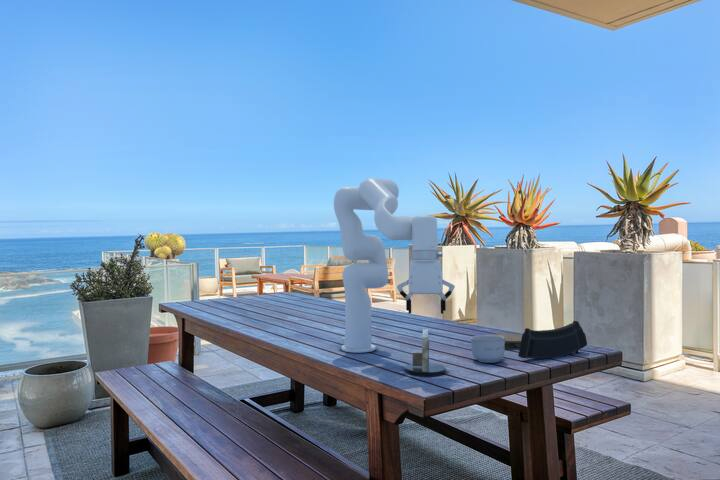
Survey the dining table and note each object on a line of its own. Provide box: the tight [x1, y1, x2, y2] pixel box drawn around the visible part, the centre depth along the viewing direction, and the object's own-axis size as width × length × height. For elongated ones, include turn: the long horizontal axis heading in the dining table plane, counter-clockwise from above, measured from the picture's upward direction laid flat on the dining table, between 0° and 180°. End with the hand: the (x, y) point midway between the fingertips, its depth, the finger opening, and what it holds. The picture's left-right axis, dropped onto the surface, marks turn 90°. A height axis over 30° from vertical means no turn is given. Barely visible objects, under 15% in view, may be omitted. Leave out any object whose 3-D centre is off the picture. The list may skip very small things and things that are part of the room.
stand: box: [405, 362, 447, 377], centre depth 151 cm, size 12×12×1 cm
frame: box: [412, 328, 430, 372], centre depth 151 cm, size 5×14×10 cm, turn 172°
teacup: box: [470, 334, 506, 364], centre depth 165 cm, size 14×11×8 cm
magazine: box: [517, 320, 588, 360], centre depth 170 cm, size 17×3×30 cm
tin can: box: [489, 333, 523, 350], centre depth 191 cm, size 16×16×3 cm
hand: (425, 313), depth 151 cm, fingers open, 9 cm apart
